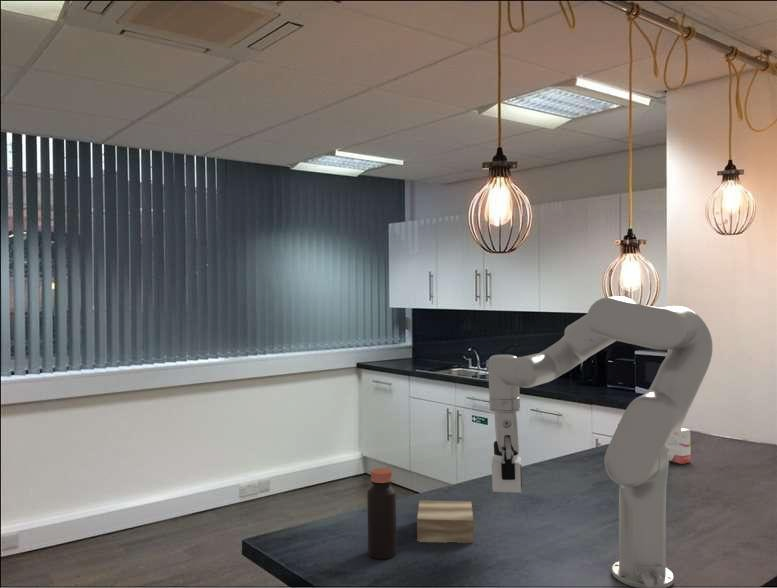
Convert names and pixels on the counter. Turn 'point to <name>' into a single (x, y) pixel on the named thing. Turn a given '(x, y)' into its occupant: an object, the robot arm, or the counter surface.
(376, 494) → the vinegar
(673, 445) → the ink cartridge box
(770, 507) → the counter surface
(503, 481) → the medicine bottle
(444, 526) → the birch block
